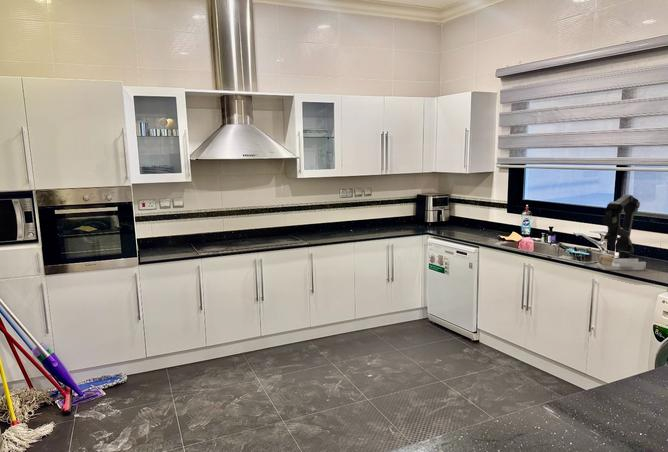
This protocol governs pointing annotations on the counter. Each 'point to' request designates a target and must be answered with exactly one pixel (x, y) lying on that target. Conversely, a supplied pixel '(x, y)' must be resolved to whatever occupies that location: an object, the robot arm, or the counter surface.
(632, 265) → the trap channel
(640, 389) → the counter surface
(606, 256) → the wooden block
